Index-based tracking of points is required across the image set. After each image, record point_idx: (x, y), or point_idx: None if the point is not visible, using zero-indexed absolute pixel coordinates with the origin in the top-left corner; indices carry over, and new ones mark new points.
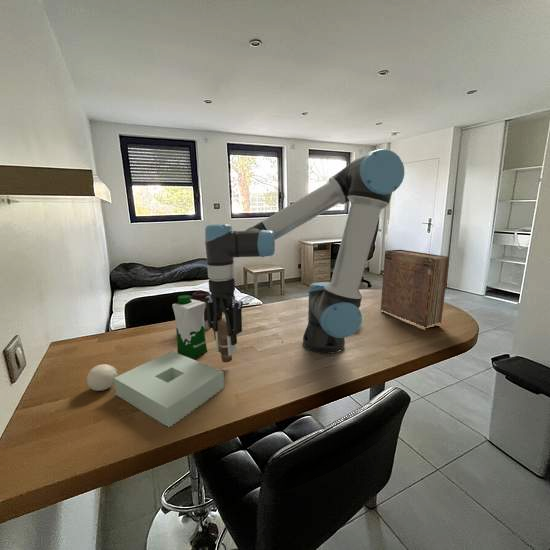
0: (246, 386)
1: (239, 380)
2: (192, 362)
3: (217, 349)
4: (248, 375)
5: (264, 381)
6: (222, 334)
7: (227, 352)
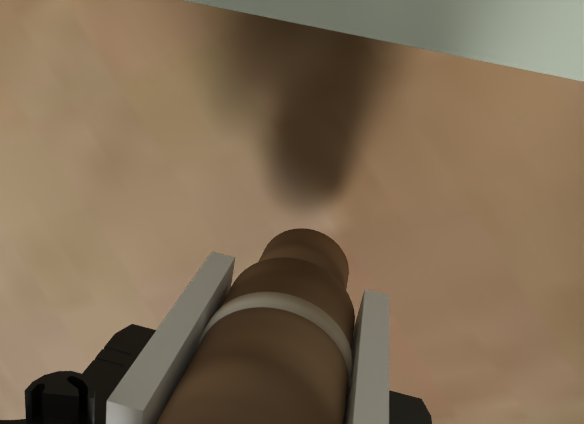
0: (62, 70)
1: (143, 118)
2: (541, 11)
3: (375, 306)
4: (127, 194)
5: (5, 165)
6: (208, 414)
7: (240, 276)
